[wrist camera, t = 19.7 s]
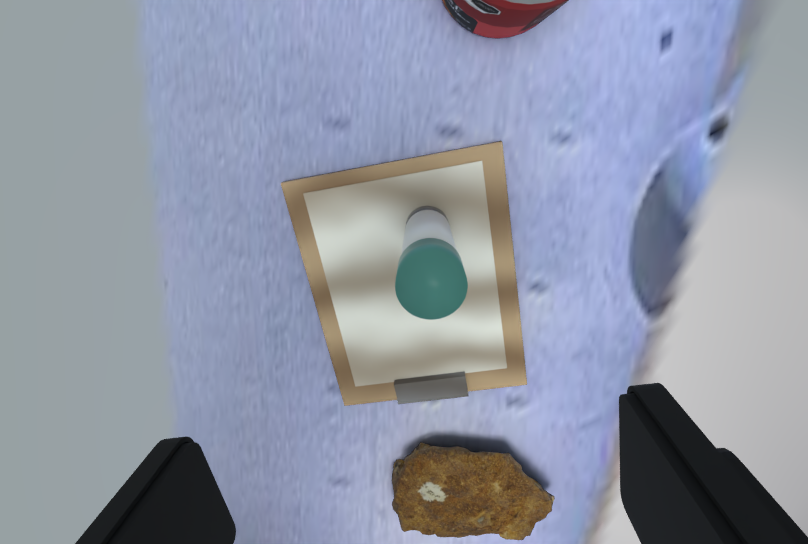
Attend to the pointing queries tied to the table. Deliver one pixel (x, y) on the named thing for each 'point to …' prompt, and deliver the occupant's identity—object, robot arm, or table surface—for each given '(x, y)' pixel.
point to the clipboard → (377, 267)
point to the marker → (430, 267)
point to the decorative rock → (466, 493)
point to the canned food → (500, 15)
